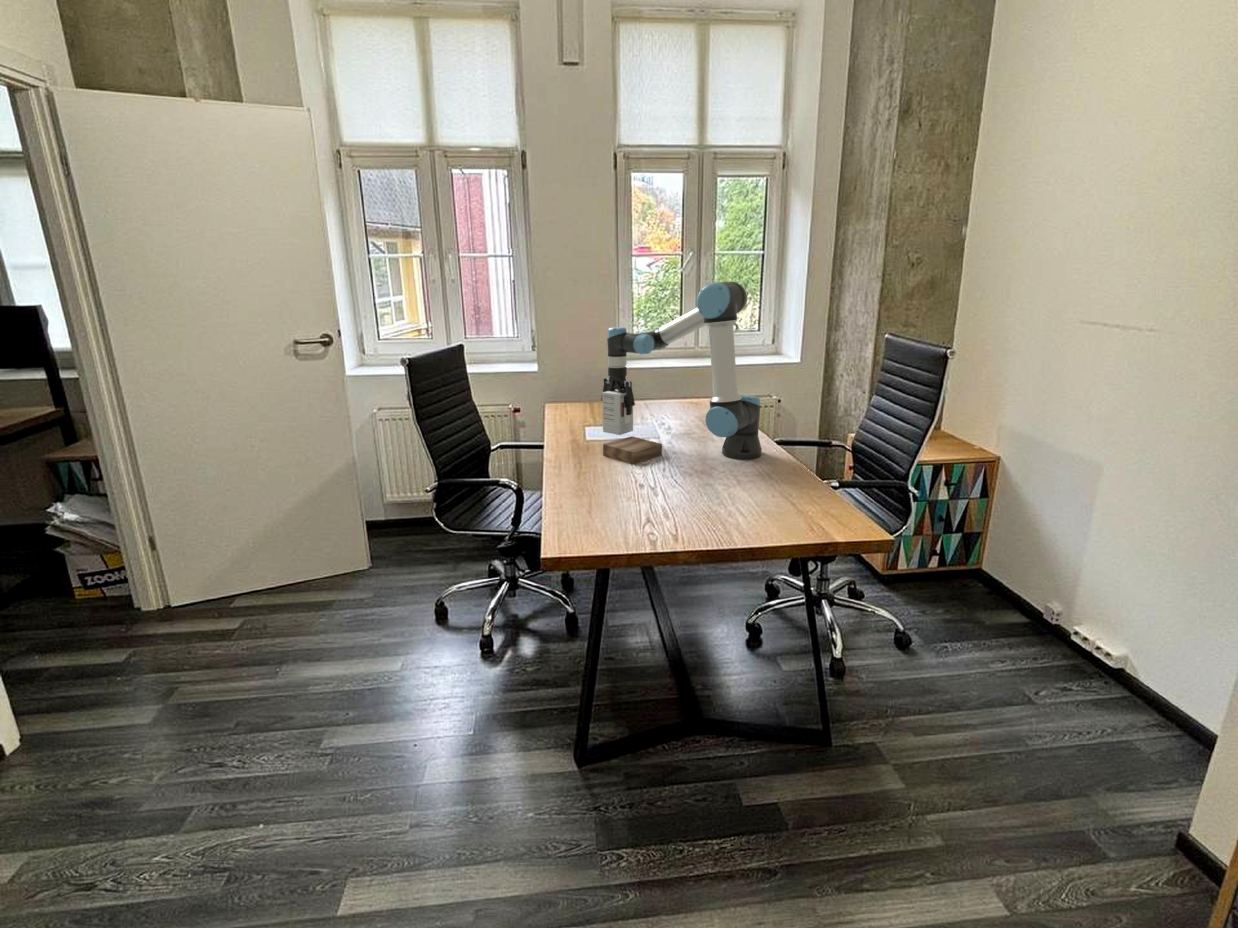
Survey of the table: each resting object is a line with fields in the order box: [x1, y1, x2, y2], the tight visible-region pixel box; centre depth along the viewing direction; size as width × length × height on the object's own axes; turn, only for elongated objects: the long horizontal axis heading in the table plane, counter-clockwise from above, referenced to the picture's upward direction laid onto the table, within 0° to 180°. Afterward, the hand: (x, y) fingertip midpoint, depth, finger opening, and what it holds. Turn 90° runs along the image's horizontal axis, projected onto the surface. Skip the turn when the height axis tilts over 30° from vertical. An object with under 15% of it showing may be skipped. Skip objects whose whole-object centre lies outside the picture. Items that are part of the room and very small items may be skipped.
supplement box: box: [601, 389, 634, 436], centre depth 264 cm, size 10×9×17 cm
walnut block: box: [602, 435, 663, 465], centre depth 247 cm, size 16×16×5 cm
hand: (618, 420), depth 265 cm, fingers closed on supplement box, 10 cm apart
